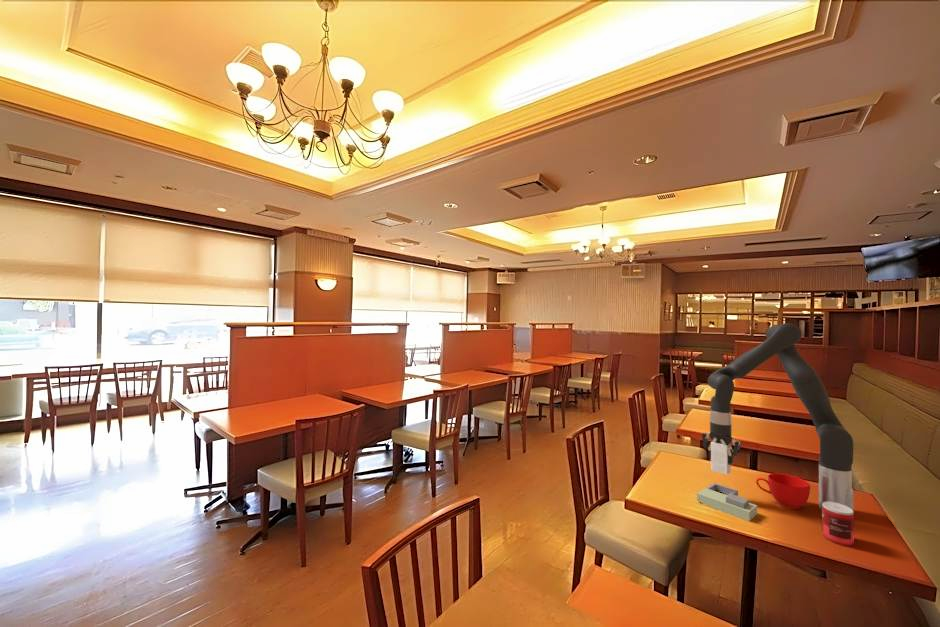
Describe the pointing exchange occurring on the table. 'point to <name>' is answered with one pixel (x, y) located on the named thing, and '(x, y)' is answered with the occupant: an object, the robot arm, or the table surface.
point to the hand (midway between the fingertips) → (720, 461)
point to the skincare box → (720, 458)
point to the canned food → (838, 523)
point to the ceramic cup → (787, 489)
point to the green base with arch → (727, 501)
